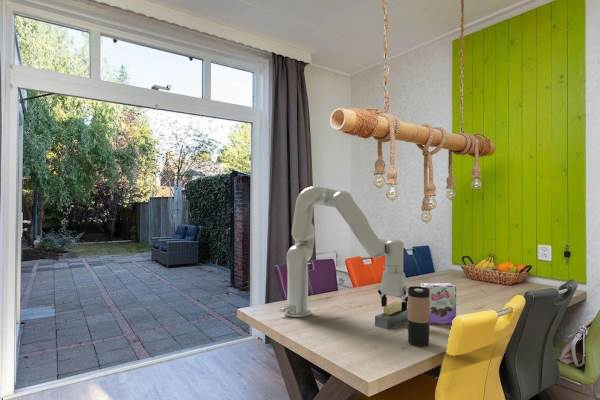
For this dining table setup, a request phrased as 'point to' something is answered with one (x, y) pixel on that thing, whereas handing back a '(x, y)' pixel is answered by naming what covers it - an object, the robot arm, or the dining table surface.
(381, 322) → the grey cinder block
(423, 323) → the travel mug
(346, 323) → the dining table surface
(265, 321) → the dining table surface
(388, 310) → the khaki arch block
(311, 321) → the dining table surface
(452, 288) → the candy box
